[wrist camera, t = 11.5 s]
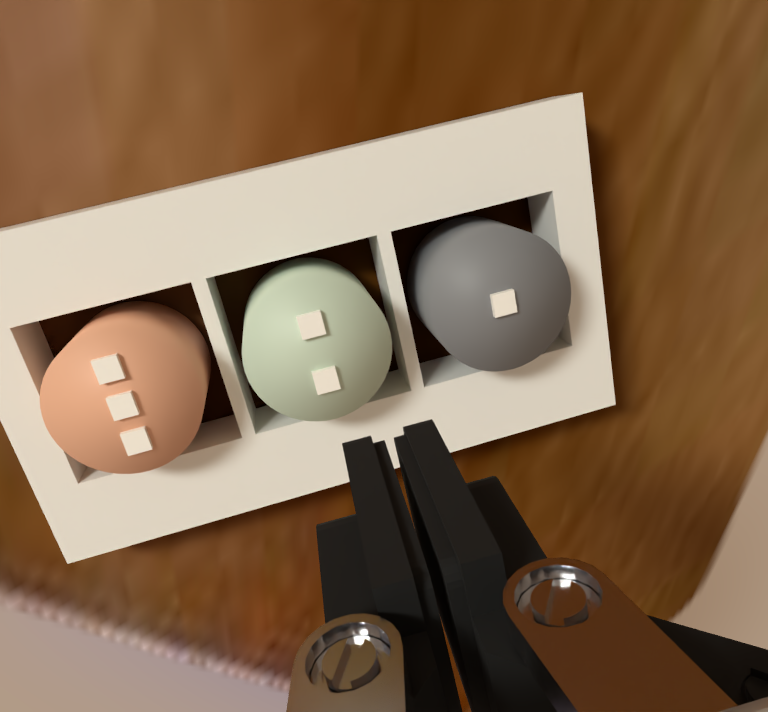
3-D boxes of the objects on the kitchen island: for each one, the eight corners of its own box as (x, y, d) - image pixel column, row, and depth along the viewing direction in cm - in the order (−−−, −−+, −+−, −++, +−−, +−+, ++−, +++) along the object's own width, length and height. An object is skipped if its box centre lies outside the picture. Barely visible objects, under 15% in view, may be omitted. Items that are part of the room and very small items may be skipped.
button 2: (356, 243, 25) (375, 262, 21) (384, 363, 27) (406, 401, 23) (227, 275, 25) (221, 301, 21) (264, 395, 26) (265, 440, 22)
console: (551, 96, 25) (582, 92, 23) (586, 383, 29) (615, 404, 27) (-45, 239, 23) (-79, 250, 20) (83, 526, 27) (67, 563, 25)
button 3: (187, 285, 24) (174, 313, 21) (227, 405, 26) (222, 453, 22) (51, 320, 24) (11, 356, 20) (101, 440, 26) (73, 494, 22)
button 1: (517, 202, 26) (564, 213, 22) (535, 321, 27) (581, 352, 24) (394, 233, 25) (419, 250, 21) (420, 353, 27) (447, 389, 23)
